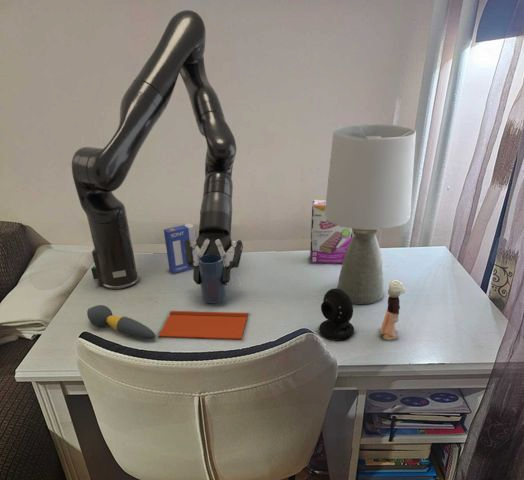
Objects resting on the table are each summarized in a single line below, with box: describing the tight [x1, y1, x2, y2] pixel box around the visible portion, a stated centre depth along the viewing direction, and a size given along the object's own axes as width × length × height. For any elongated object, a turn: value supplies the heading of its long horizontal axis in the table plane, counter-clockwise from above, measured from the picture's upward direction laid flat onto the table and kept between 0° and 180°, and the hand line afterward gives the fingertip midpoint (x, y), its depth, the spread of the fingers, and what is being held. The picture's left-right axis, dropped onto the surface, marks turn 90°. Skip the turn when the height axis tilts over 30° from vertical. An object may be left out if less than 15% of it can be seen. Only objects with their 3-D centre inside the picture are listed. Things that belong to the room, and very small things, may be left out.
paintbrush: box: [86, 304, 157, 340], centre depth 108 cm, size 20×5×5 cm, turn 66°
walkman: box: [163, 223, 198, 274], centre depth 133 cm, size 8×3×12 cm, turn 122°
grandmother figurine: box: [379, 279, 406, 341], centre depth 101 cm, size 8×4×13 cm, turn 5°
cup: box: [198, 254, 227, 304], centre depth 116 cm, size 6×6×10 cm
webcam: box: [318, 287, 355, 341], centre depth 103 cm, size 8×8×10 cm
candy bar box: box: [309, 199, 354, 265], centre depth 133 cm, size 11×5×16 cm, turn 84°
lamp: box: [325, 123, 417, 305], centre depth 110 cm, size 19×19×37 cm
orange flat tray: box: [158, 310, 249, 341], centre depth 110 cm, size 18×11×1 cm, turn 84°
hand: (211, 283), depth 115 cm, fingers closed on cup, 5 cm apart
